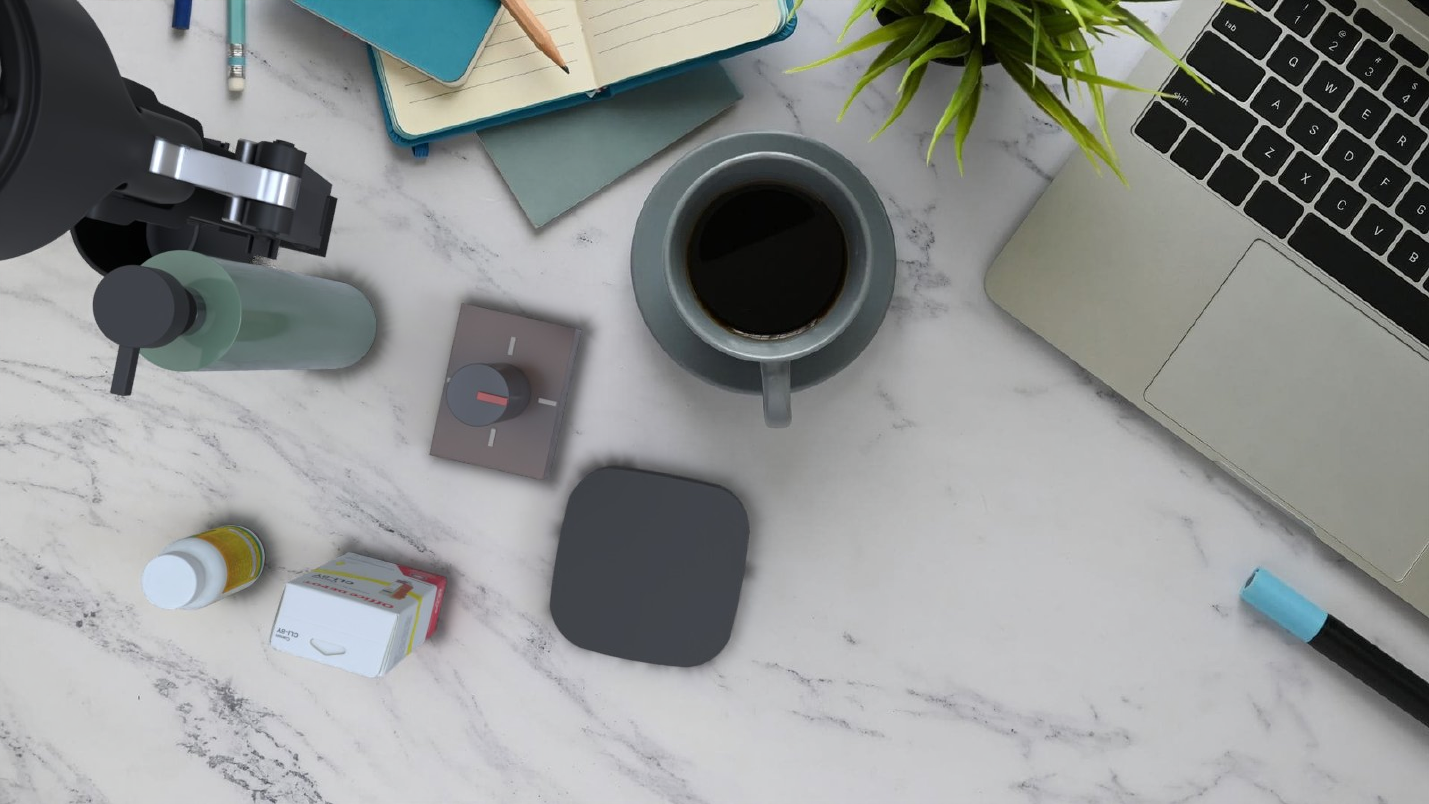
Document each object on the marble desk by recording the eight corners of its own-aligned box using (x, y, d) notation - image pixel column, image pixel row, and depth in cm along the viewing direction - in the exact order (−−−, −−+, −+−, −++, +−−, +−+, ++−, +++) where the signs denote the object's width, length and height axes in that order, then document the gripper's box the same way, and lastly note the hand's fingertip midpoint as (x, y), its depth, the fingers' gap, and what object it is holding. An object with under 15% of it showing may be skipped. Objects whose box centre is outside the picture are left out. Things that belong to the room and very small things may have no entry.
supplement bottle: (233, 602, 80) (166, 635, 70) (187, 554, 80) (114, 581, 70) (281, 557, 80) (220, 584, 70) (235, 509, 79) (168, 530, 70)
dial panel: (471, 304, 79) (460, 302, 75) (581, 329, 79) (575, 328, 75) (440, 451, 79) (428, 455, 76) (549, 475, 79) (542, 480, 76)
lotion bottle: (299, 272, 79) (123, 235, 56) (384, 291, 79) (243, 262, 56) (281, 358, 79) (99, 356, 56) (366, 377, 79) (219, 384, 56)
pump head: (125, 260, 54) (100, 256, 52) (202, 278, 54) (181, 274, 52) (100, 385, 55) (75, 385, 52) (178, 402, 54) (156, 404, 52)
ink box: (450, 576, 79) (402, 614, 68) (434, 635, 80) (384, 682, 68) (348, 548, 79) (281, 580, 68) (332, 606, 80) (264, 649, 68)
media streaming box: (757, 489, 79) (759, 494, 76) (724, 667, 80) (724, 678, 76) (578, 456, 79) (572, 460, 76) (546, 634, 80) (539, 644, 77)
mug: (140, 142, 78) (64, 114, 69) (278, 204, 78) (220, 184, 69) (95, 251, 79) (13, 237, 70) (232, 313, 79) (168, 306, 70)
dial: (468, 413, 76) (438, 419, 68) (480, 357, 76) (452, 357, 68) (523, 426, 76) (500, 433, 68) (536, 370, 76) (514, 371, 68)
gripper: (184, -44, 20) (474, 173, 44) (-429, -182, 20) (190, 109, 44) (114, 311, 21) (440, 338, 44) (-490, 175, 21) (157, 274, 44)
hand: (315, 224), depth 44 cm, fingers closed
